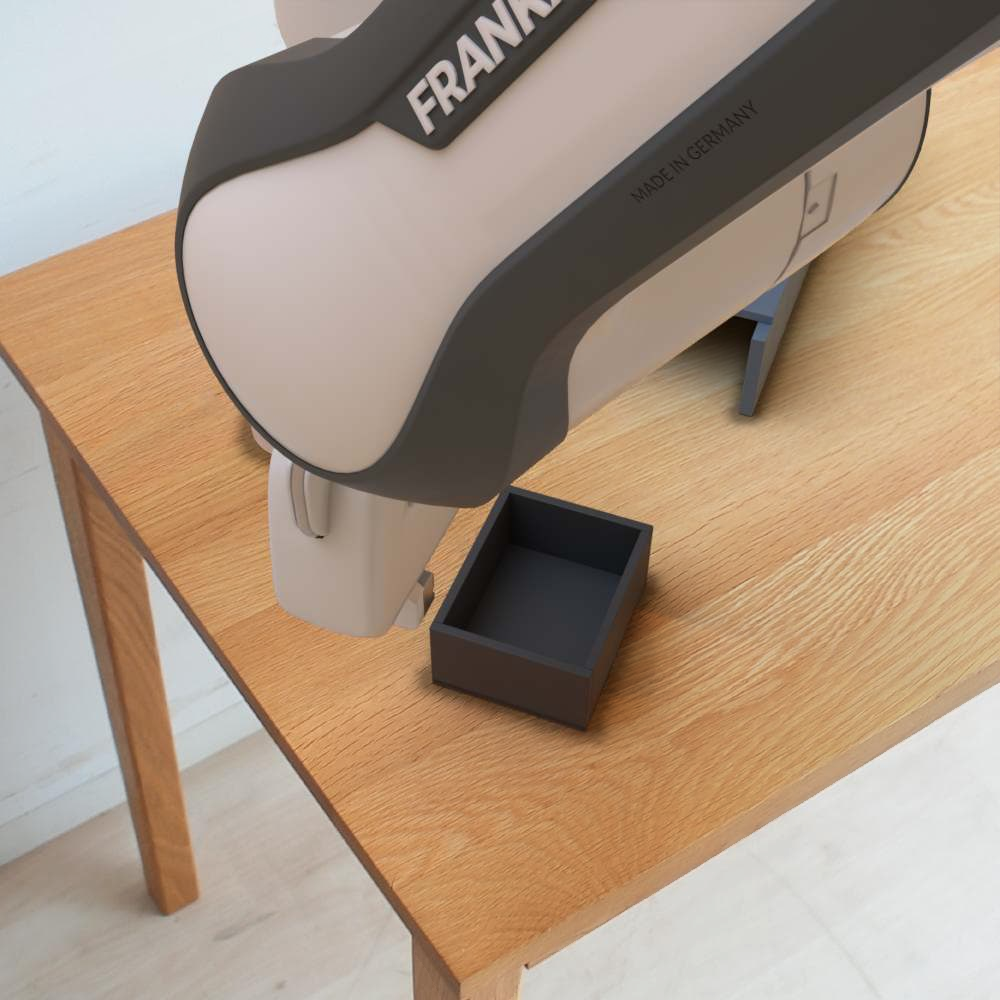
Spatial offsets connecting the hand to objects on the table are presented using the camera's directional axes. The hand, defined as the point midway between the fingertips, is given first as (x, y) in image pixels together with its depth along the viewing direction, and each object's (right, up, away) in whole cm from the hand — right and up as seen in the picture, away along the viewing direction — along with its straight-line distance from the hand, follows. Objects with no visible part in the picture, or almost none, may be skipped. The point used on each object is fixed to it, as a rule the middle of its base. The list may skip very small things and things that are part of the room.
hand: (457, 520), depth 55 cm
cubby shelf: (+16, +17, +39) cm, 46 cm away
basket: (+4, -6, +19) cm, 20 cm away
